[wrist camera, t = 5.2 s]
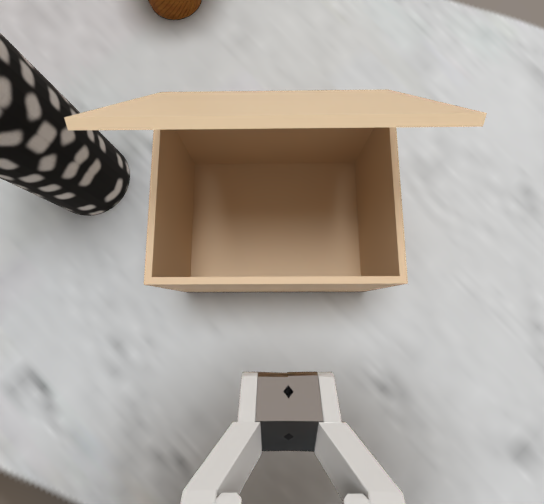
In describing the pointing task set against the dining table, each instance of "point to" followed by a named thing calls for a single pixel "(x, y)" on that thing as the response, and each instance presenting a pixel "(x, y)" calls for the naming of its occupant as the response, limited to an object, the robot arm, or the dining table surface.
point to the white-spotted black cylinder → (53, 143)
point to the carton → (275, 210)
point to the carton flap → (275, 111)
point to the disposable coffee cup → (175, 8)
